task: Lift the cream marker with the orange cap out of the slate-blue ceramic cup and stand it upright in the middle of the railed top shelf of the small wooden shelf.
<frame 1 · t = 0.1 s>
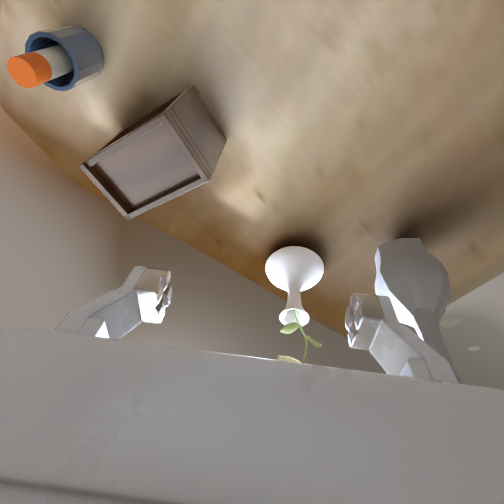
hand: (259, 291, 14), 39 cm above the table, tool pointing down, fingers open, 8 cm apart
marker: (78, 53, 44), point 1 cm above the table, touching pen cup
pen cup: (81, 53, 44), on the table, touching marker
small wooden shelf: (173, 135, 50), on the table
flower in vase: (296, 265, 65), on the table
bottle: (395, 244, 60), on the table
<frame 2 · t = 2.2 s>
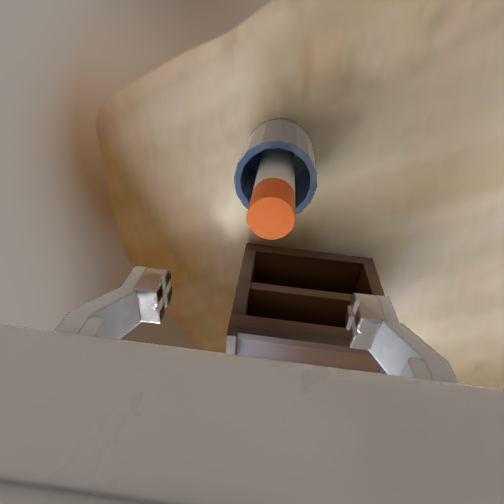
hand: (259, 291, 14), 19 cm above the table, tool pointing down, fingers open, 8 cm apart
marker: (278, 155, 30), point 1 cm above the table, touching pen cup
pen cup: (278, 153, 30), on the table, touching marker
small wooden shelf: (302, 281, 39), on the table
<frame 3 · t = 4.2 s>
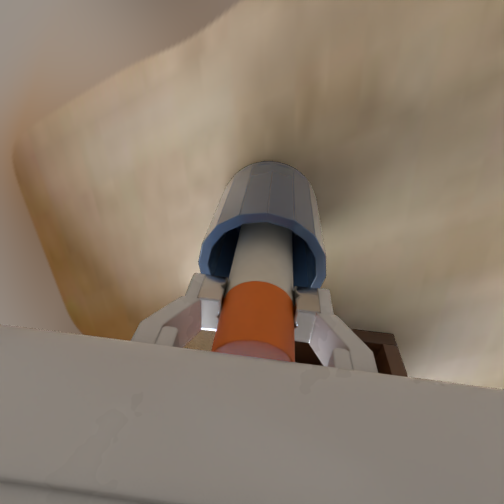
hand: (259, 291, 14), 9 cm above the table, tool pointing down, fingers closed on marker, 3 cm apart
marker: (268, 210, 21), point 1 cm above the table, touching gripper, pen cup
pen cup: (268, 206, 22), on the table, touching marker
small wooden shelf: (301, 357, 30), on the table
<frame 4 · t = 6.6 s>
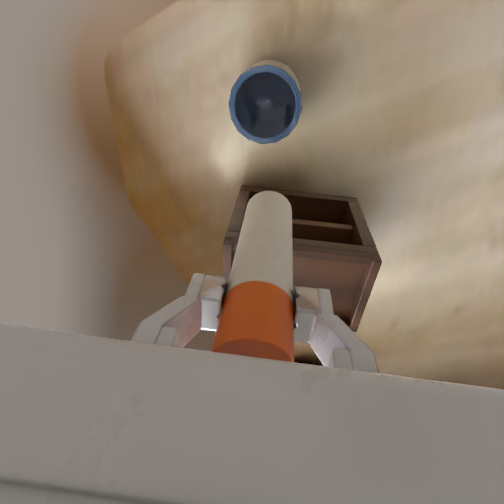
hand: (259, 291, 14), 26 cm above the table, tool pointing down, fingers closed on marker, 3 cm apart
marker: (268, 211, 21), point 18 cm above the table, touching gripper
pen cup: (269, 94, 34), on the table
small wooden shelf: (293, 224, 42), on the table
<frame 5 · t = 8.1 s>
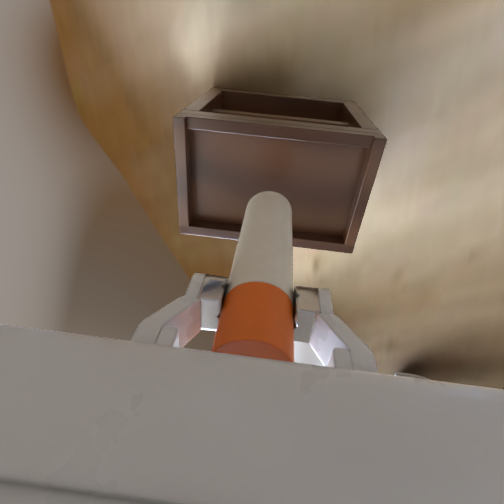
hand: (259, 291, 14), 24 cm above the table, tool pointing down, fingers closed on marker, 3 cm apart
marker: (268, 212, 21), point 16 cm above the table, touching gripper
small wooden shelf: (277, 141, 34), on the table
flower in vase: (290, 347, 53), on the table
when the fingers open (20 cm above the table, at t = 9.5 s): marker stays where it is, resting on small wooden shelf.
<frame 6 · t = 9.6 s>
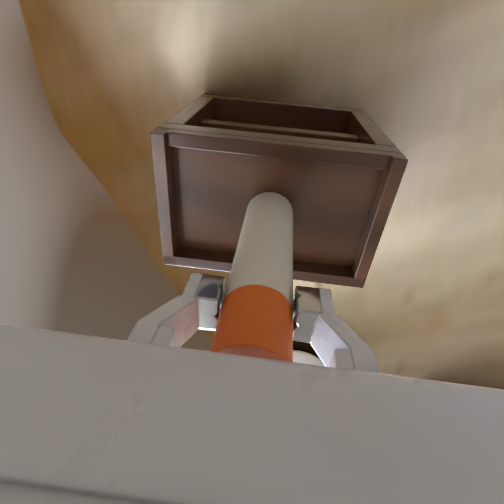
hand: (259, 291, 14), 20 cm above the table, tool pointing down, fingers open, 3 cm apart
marker: (269, 213, 21), point 12 cm above the table, touching small wooden shelf
small wooden shelf: (276, 152, 31), on the table
flower in vase: (291, 369, 49), on the table
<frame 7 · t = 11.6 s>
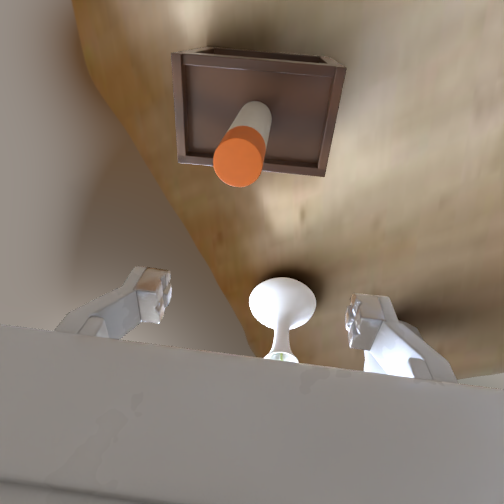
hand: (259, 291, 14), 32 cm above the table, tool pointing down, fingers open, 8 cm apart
marker: (255, 119, 29), point 12 cm above the table, touching small wooden shelf
small wooden shelf: (263, 95, 39), on the table
flower in vase: (282, 299, 57), on the table
bottle: (384, 322, 58), on the table
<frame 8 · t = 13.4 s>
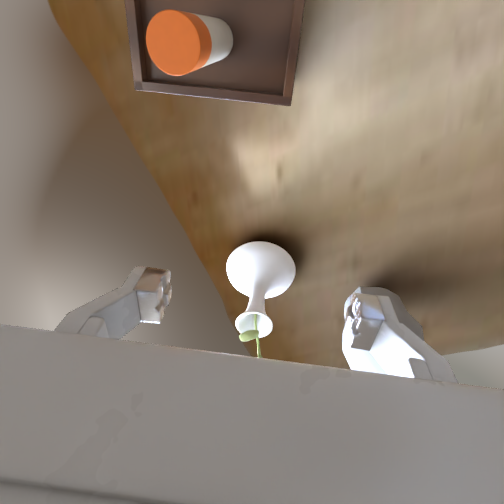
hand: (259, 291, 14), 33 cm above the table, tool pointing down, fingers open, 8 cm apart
marker: (215, 39, 27), point 12 cm above the table, touching small wooden shelf
small wooden shelf: (235, 35, 37), on the table
flower in vase: (261, 267, 55), on the table
bottle: (366, 292, 56), on the table
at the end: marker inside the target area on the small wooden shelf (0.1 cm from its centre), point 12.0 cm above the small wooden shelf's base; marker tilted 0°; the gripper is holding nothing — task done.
